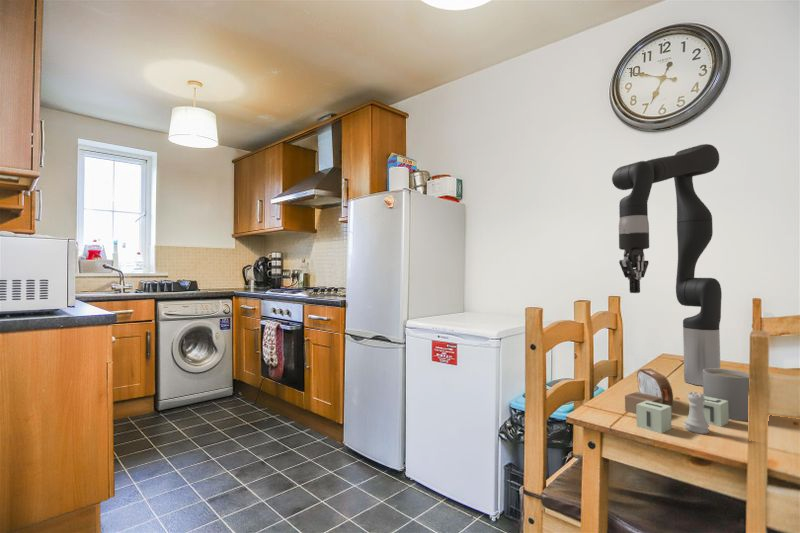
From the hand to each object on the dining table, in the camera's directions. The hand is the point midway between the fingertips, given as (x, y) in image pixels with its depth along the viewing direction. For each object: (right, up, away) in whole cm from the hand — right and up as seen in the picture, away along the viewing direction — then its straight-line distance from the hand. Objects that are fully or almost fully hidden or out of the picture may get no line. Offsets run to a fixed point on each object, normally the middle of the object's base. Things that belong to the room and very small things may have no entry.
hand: (634, 292), depth 114 cm
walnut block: (-7, -29, -15) cm, 33 cm away
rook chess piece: (-3, -29, -27) cm, 40 cm away
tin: (0, -29, -8) cm, 30 cm away
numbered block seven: (+5, -29, -22) cm, 36 cm away
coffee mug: (+14, -29, -15) cm, 36 cm away
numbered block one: (-11, -28, -26) cm, 40 cm away
